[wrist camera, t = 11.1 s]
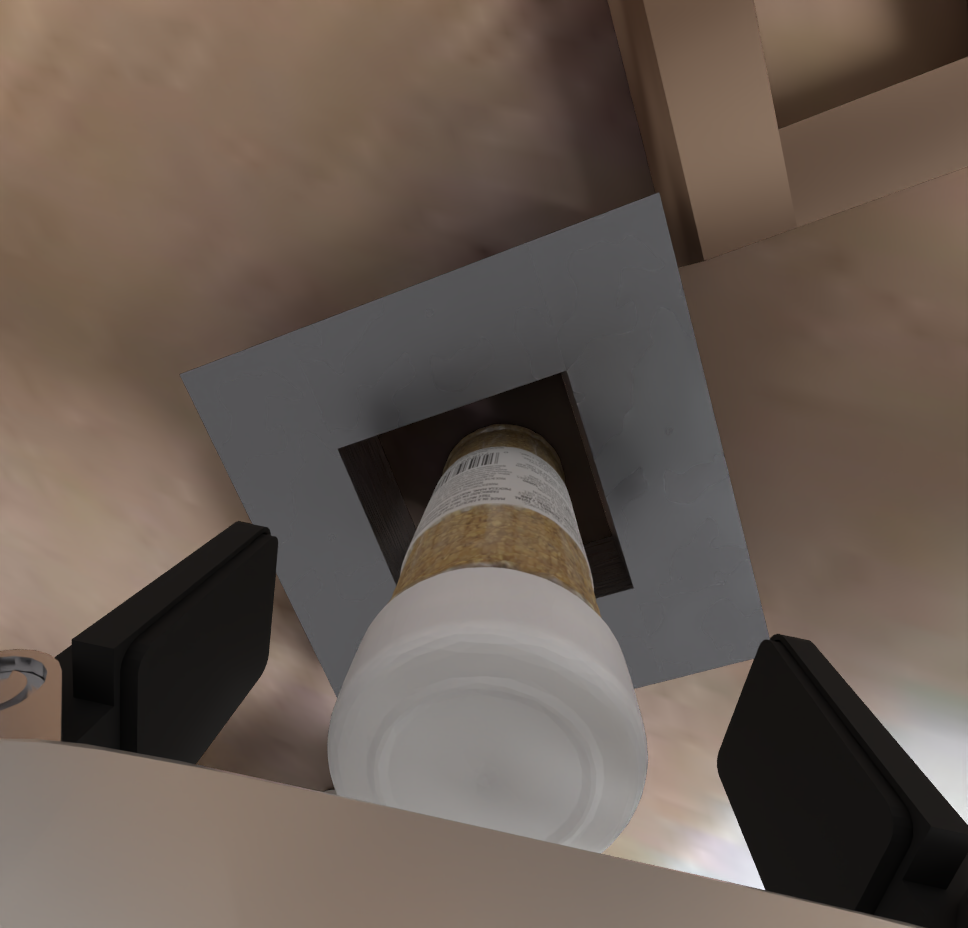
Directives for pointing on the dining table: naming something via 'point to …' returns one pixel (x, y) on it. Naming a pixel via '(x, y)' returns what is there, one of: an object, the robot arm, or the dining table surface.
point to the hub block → (480, 374)
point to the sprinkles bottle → (495, 664)
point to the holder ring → (768, 129)
